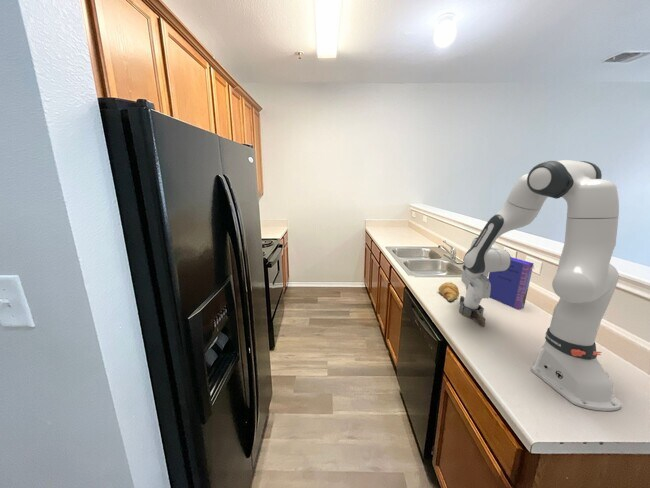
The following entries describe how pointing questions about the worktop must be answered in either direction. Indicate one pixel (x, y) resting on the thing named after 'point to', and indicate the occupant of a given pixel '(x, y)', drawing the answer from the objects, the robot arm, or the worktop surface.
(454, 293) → the croissant
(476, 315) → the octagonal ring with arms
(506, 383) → the worktop surface
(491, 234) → the robot arm
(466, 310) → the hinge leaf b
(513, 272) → the cereal box
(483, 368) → the worktop surface
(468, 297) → the can
